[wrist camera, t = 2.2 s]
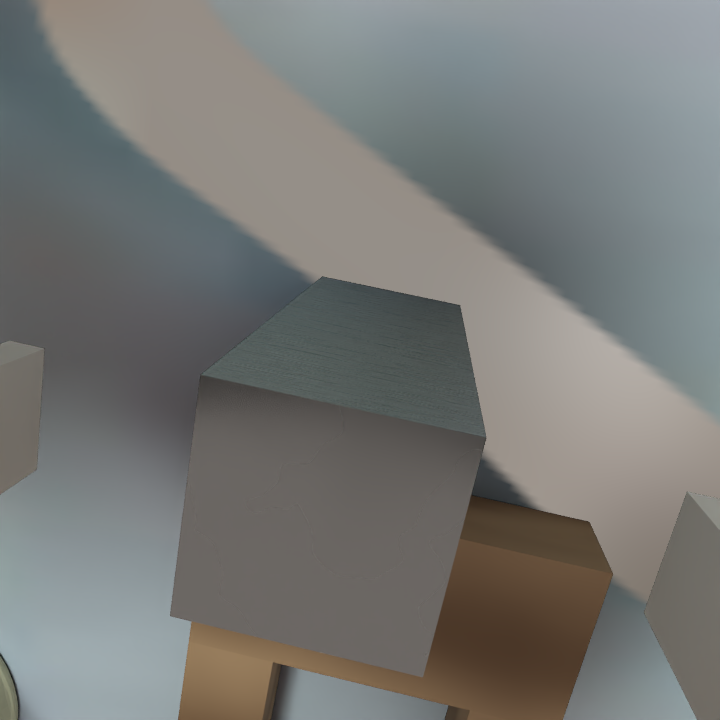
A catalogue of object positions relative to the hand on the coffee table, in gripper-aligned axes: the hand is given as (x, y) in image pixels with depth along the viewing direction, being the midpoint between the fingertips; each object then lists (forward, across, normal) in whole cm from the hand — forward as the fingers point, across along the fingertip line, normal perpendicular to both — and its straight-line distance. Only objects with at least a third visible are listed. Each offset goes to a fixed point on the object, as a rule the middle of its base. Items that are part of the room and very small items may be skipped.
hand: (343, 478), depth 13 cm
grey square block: (+8, 0, 0) cm, 8 cm away
